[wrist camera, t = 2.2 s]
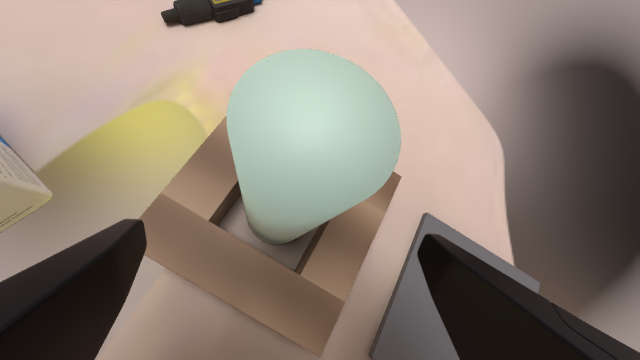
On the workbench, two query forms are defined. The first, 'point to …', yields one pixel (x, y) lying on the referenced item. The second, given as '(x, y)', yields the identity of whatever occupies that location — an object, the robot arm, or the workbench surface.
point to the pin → (308, 140)
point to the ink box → (18, 188)
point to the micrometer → (207, 10)
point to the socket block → (247, 262)
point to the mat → (427, 302)
